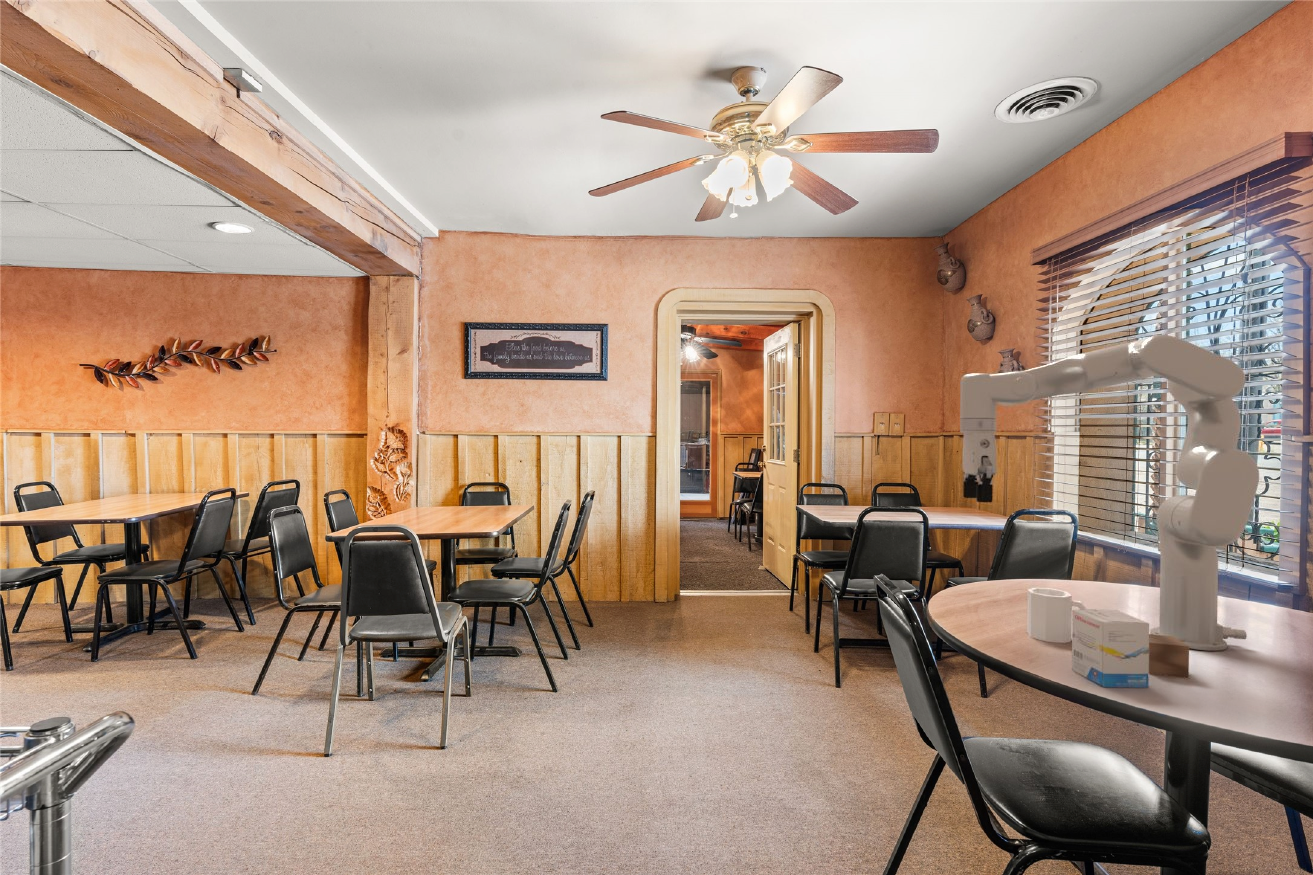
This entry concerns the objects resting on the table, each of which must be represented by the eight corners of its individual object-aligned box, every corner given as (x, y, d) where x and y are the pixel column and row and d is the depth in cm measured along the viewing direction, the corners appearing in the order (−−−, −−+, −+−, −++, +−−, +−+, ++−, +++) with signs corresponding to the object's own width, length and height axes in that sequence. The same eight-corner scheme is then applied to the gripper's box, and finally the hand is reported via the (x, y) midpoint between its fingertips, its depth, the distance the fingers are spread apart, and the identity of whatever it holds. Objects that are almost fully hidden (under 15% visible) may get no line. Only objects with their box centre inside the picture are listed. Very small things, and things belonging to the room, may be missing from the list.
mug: (1024, 637, 137) (1025, 593, 137) (1029, 628, 144) (1030, 585, 144) (1091, 649, 129) (1091, 602, 129) (1093, 639, 136) (1093, 594, 136)
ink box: (1150, 688, 110) (1151, 622, 110) (1102, 687, 110) (1103, 621, 110) (1115, 670, 118) (1116, 608, 118) (1070, 669, 118) (1071, 607, 118)
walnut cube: (1173, 667, 120) (1173, 636, 120) (1188, 679, 114) (1189, 646, 114) (1136, 663, 122) (1136, 632, 122) (1149, 674, 116) (1150, 642, 116)
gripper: (1009, 426, 136) (1008, 504, 136) (982, 427, 153) (982, 496, 153) (972, 426, 138) (971, 503, 138) (950, 427, 155) (949, 496, 155)
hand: (977, 499), depth 146 cm, fingers open, 9 cm apart
